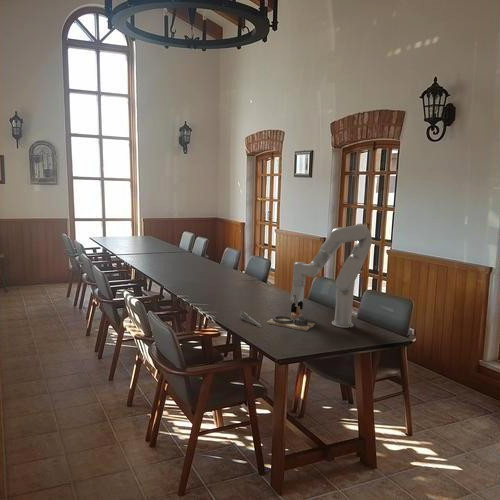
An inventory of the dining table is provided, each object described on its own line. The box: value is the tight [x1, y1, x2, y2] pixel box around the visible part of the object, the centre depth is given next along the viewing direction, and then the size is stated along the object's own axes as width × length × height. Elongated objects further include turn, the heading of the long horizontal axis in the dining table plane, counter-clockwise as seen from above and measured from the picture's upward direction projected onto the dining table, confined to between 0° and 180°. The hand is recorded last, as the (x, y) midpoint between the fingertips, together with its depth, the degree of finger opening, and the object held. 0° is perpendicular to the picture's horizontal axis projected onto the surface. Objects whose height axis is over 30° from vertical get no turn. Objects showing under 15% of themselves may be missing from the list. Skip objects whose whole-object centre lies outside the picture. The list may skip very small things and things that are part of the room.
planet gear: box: [290, 305, 303, 319], centre depth 295 cm, size 7×7×8 cm
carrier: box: [266, 314, 316, 332], centre depth 282 cm, size 14×24×6 cm, turn 62°
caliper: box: [239, 308, 263, 328], centre depth 281 cm, size 20×1×6 cm, turn 37°
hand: (296, 310), depth 294 cm, fingers open, 9 cm apart
